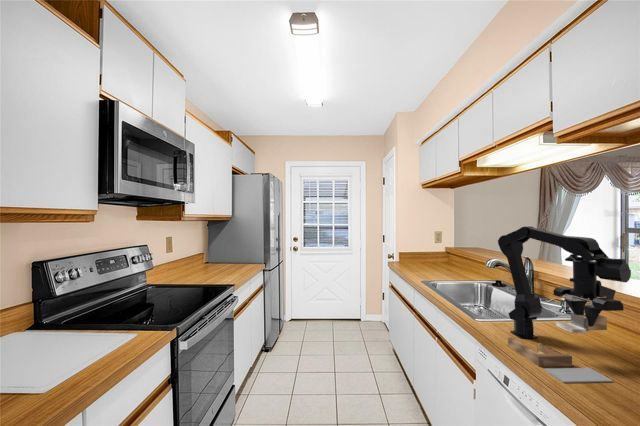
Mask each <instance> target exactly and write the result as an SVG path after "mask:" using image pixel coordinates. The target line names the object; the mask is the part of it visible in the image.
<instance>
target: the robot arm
mask: <svg viewBox="0 0 640 426" xmlns="http://www.w3.org/2000/svg"><path fill="white" fill-rule="evenodd" d="M530 239H532V240H535V241H538V242H543V243H546V244H550V245H552V246H557V247H559V248H561V249H562V250H564V251H565V252H568V253H569V256H567V257H566V258H564V261H565V262H572V277H570V278H569V282H570V283H573V284H572V285H573V286H572V287H569V286H559V287H557V286H556V287H555V288H554V289H553V296H556V297H559V298H563V296H565V298H564V299H563V301H565V302H566V304H567V306H568V307H569V308H570V310H571V311H572V313H573V314H576V315H586V318H587V319H588V325H589V326H590V327H593V326H594V323H595V321H596V319H597V317H598V315H600V314H601V312H602V311H603V312H604V311H605V312H606V311H607V312H612V311H613V312H615V311H617V312H619V311H624V303H623V302H622V301H621V300H618V299H615V295H616V293H617V291H616V290H615V289H612V288H611V287H607V286H603V285H602V282H601V280H605V281H606V280H607V281H612V282H613V281H614V282H619V283H628V282H629V281H630V280H631V275H632V270H631V268H630V266H629V264H628V263H627V259H626V258H610V257H609V256H608V255H607V254H606V253H605V252H604V251H603V249H602V248H601V247H600V245H599V243H598V241H597V240H596V239H595V238H592V237H584V236H575V235H574V236H573V235H571V236H570V235H564V234H561V233H558V232H557V233H556V232H552V231H549V230H544V229H541V228H540V229H539V228H538V227H537V228H536V227H534V226H522V227H519V229H516V230H514V231H511V232H509V233H507V234H505V235H501V236H500V237H499V238H498V239H497V244H498V246H499V249H500V251H501V253H502V254H503V255H504V256H505V257H506V259H507V263H508V267H509V270H510V274H511V279H512V283H513V285H514V286H513V287H514V290H515V292H516V293H515V299H514V301H513V302H514V308H513V310H511V311H510V312H508V316H509V319H510V320H513V330H510V333H511V334H513V335H514V336H516V337H519V338H520V339H538V336H537V335H535V334H534V333H535V332H534V331H535V330H534V329H535V328H534V322H533V321H537V319H538V317H539V316H540V315H541V314H542V312H543V311H542V309H543V308H544V307H543V305H542V304H541V299H540V297H539V296H537V297H536V296H534V294H533V293H532V290H531V288H530V287H531V285H530V282H529V280H528V276H527V274H526V268H525V264H524V261H523V258H522V255H523V252H524V244H525V243H526V242H528V241H529V240H530ZM597 277H598V278H599V279H601V280H598V279H597ZM587 303H588V304H587Z"/></svg>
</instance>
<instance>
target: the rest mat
mask: <svg viewBox="0 0 640 426" xmlns="http://www.w3.org/2000/svg"><path fill="white" fill-rule="evenodd" d="M543 371H545V372H547V373H548V374H549V375H550V376H552V377H554V378H555V379H557V380H558V381H560V382H561V383H563V384H568V383H569V384H570V383H571V384H572V383H574V384H576V383H583V384H584V383H613V379H611V378H609V377H607V376H605V375H603V374H602V373H599V372H598V371H596V370H594V369H593V368H591V367H560V368H559V367H556V368H555V367H554V368H553V367H551V368H546V367H545V368H543Z"/></svg>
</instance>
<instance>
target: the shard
mask: <svg viewBox="0 0 640 426" xmlns="http://www.w3.org/2000/svg"><path fill="white" fill-rule="evenodd" d="M535 352H537V353H538V354H562V353H561V352H559V351H557V350H556V349H554V348H552V347H550V346H548V345H545V344H544V343H541V342H538V345H537V346H536V347H535Z"/></svg>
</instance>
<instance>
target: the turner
mask: <svg viewBox="0 0 640 426" xmlns="http://www.w3.org/2000/svg"><path fill="white" fill-rule="evenodd" d="M555 326H556V327H558V328H560V329H563V330H565V331H567V332H569V333H572V334H580V333H581V334H582V333H583V334H585V333H587V332H589V331H607V330H608V318H607V317H606V316H603V315H600V314H599V315H598V317H597V319H596V321H595V323H594V326H593V327H590V326H589V325H588V319H587V318H586V315H585V314H584V315H576V314H574V313H573V314H572V313H571V314H570V322H556V323H555Z"/></svg>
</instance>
